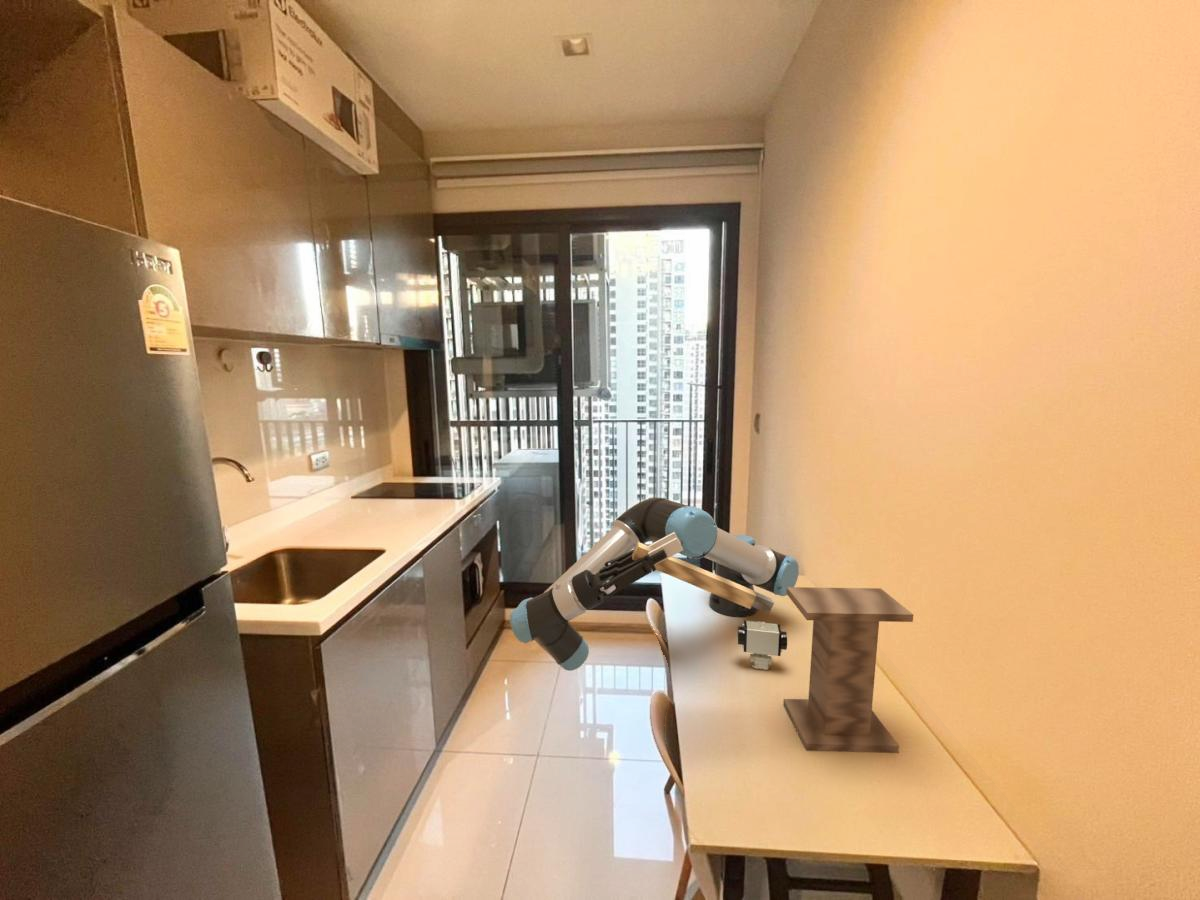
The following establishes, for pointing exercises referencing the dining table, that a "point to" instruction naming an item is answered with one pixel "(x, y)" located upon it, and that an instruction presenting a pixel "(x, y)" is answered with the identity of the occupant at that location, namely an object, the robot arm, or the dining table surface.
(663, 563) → the brown streaked block
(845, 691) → the shelf stand
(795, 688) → the dining table surface
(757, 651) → the pneumatic valve
